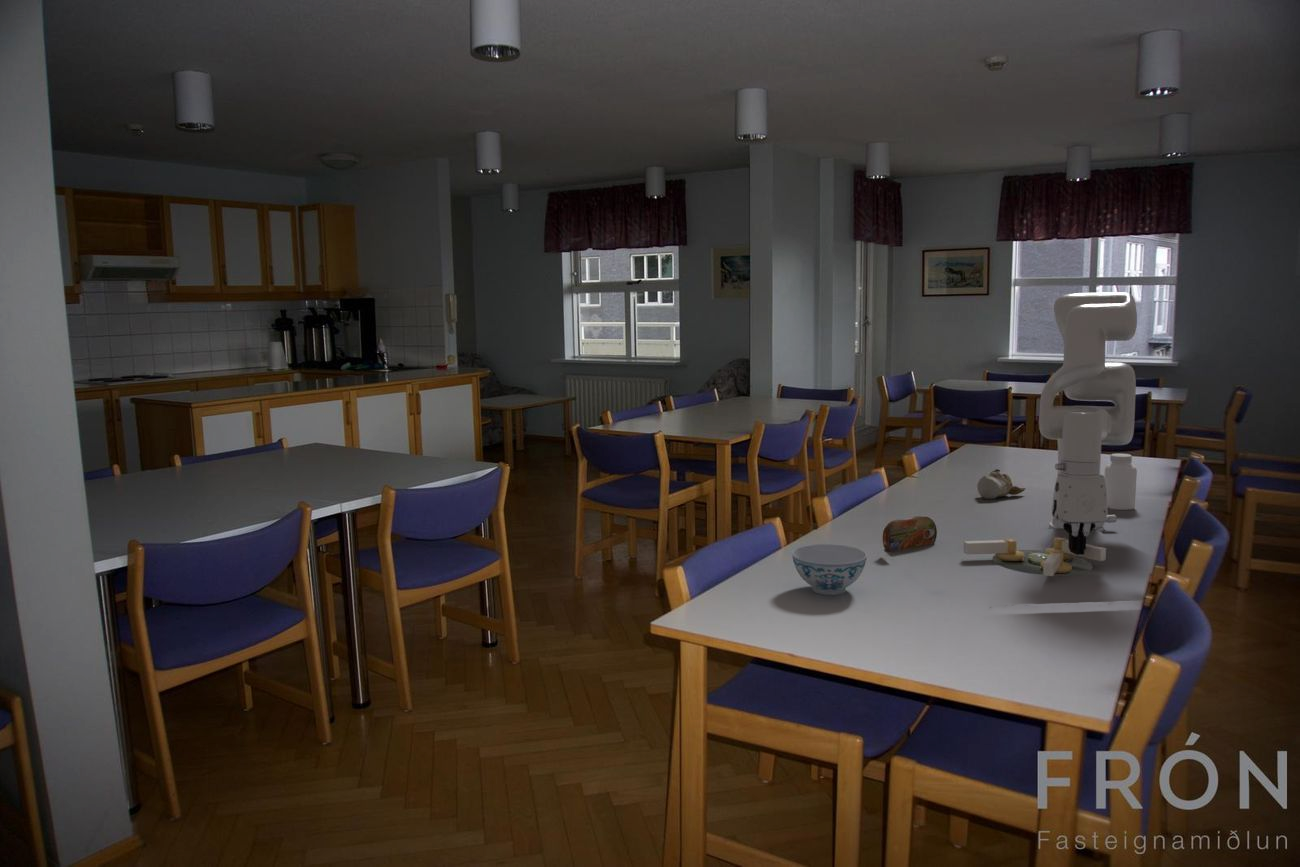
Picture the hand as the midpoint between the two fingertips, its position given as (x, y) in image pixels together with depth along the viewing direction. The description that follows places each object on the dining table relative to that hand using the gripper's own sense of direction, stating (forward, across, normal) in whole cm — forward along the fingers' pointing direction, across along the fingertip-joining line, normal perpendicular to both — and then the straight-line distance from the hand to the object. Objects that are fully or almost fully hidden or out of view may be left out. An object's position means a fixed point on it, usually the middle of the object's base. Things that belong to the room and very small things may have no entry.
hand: (1076, 552), depth 192 cm
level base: (+4, -6, +3) cm, 8 cm away
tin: (+4, -30, +18) cm, 36 cm away
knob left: (+2, -15, +6) cm, 17 cm away
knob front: (+3, -8, -6) cm, 11 cm away
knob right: (+2, +1, +3) cm, 4 cm away
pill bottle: (+3, +41, +59) cm, 72 cm away
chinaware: (+5, -55, -8) cm, 56 cm away
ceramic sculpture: (+3, +14, +78) cm, 79 cm away
